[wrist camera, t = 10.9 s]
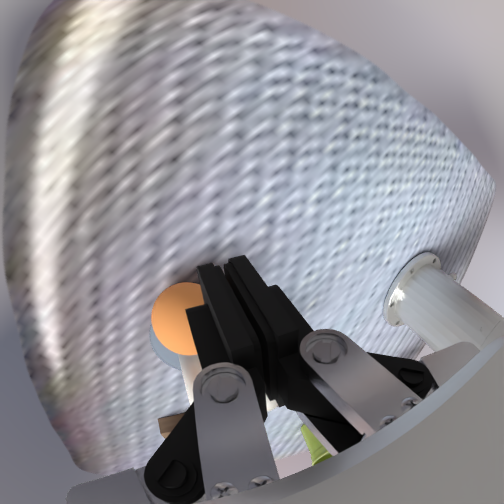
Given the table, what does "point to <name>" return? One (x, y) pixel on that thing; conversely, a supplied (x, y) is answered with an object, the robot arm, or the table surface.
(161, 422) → the bar
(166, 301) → the ball
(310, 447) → the plant pot
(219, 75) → the table surface
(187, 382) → the pin
